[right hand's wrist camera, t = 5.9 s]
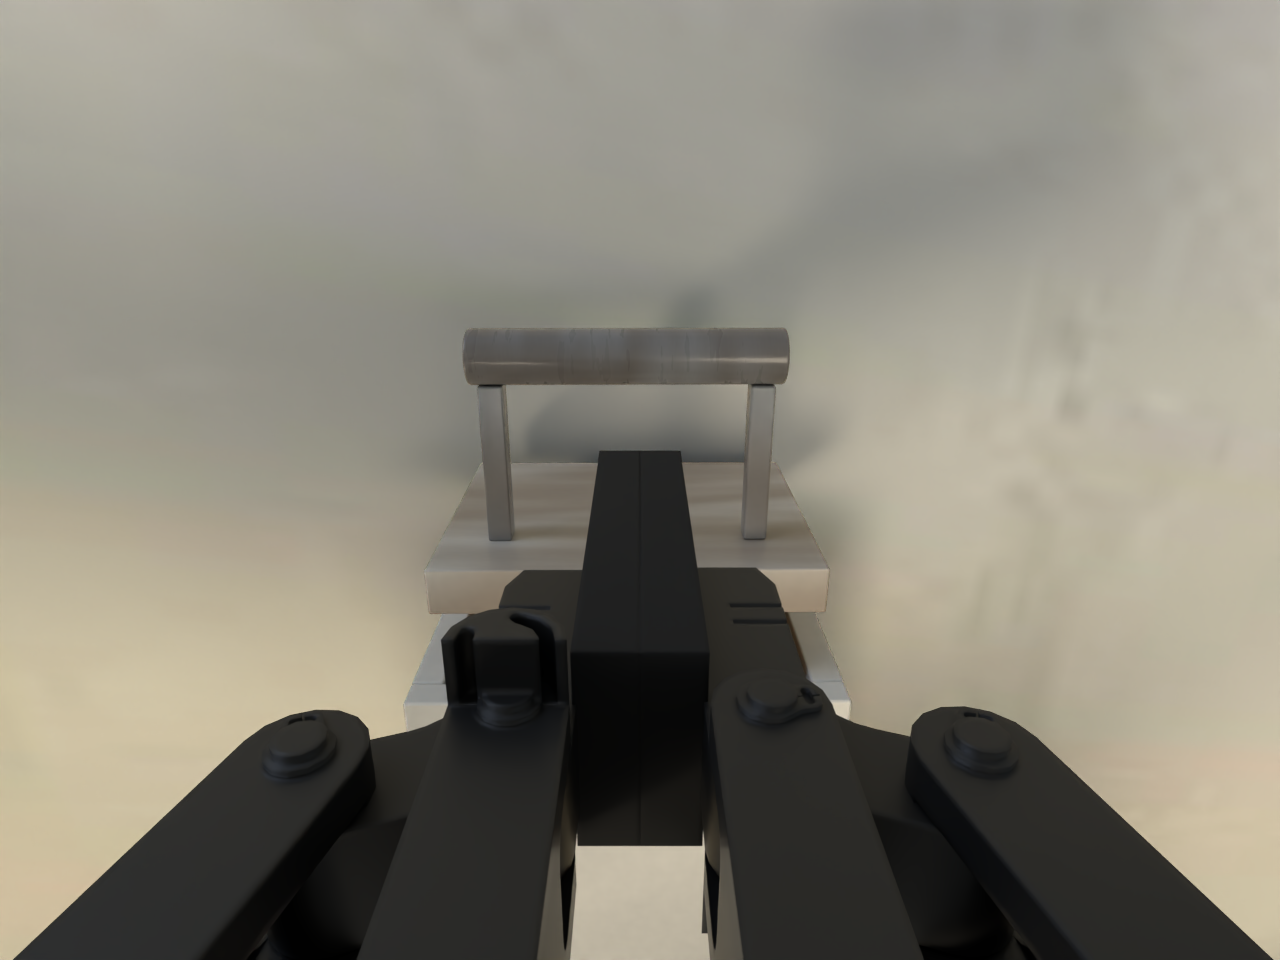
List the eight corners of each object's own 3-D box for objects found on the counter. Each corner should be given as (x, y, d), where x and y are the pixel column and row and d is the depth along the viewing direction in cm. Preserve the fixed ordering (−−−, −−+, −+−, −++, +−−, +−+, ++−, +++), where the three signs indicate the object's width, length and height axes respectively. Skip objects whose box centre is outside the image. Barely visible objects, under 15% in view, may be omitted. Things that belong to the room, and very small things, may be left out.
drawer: (466, 294, 23) (397, 345, 16) (787, 294, 23) (853, 344, 17) (511, 861, 32) (478, 1053, 25) (749, 859, 32) (782, 1050, 25)
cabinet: (474, 537, 27) (402, 703, 19) (783, 535, 27) (852, 700, 19) (506, 917, 34) (464, 1169, 25) (755, 915, 34) (797, 1165, 26)
